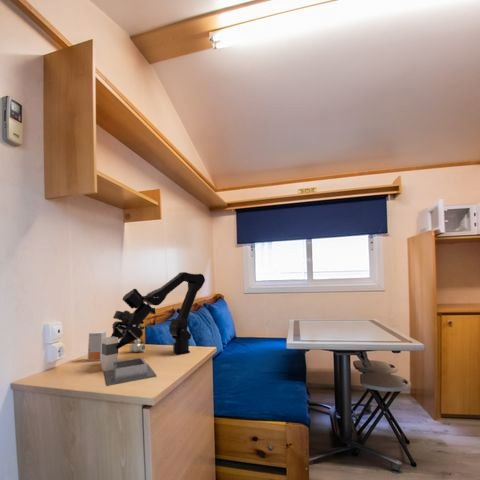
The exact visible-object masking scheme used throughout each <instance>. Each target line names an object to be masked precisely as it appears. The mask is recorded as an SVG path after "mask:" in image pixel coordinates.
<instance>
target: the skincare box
mask: <svg viewBox="0 0 480 480" xmlns="http://www.w3.org/2000/svg"><path fill="white" fill-rule="evenodd" d="M106 337H107V331H92V332H89V333H88V344H87V345H88V347H87V361H88V362H95V361H97V362H102V341H103V338H106Z"/></svg>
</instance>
